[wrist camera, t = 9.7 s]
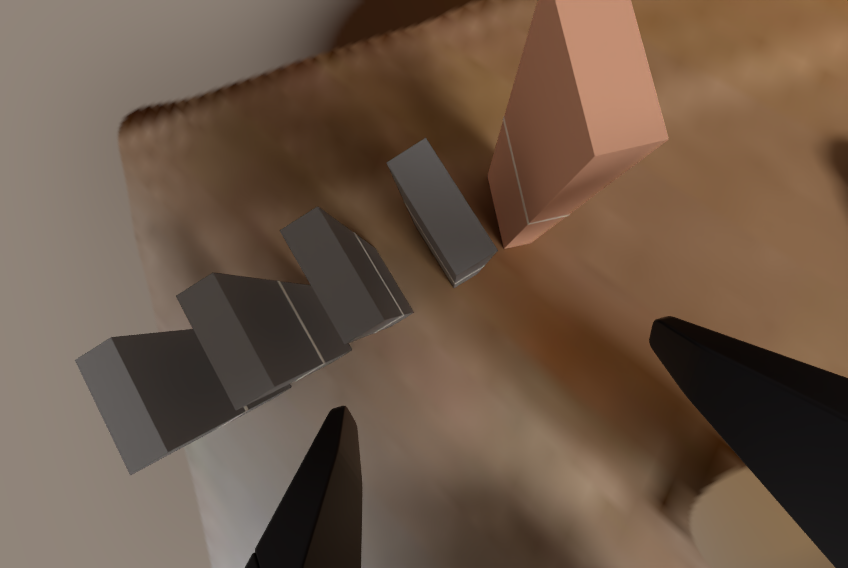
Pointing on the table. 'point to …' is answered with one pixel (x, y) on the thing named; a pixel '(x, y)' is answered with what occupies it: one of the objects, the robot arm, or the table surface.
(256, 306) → the domino
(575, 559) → the table surface
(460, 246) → the domino
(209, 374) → the domino
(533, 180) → the domino
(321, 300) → the domino
